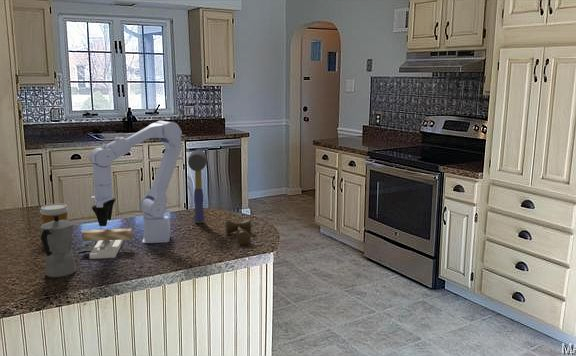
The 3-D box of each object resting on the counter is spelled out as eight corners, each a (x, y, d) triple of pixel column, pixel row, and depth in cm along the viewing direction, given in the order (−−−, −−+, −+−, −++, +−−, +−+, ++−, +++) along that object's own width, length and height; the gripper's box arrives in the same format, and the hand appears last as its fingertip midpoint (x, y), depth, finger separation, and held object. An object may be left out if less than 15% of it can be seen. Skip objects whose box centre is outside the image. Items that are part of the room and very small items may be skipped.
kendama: (230, 247, 174) (223, 229, 193) (257, 246, 176) (247, 228, 195) (230, 231, 173) (223, 214, 191) (257, 230, 175) (247, 214, 194)
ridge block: (123, 241, 176) (122, 231, 176) (115, 257, 161) (114, 246, 160) (100, 242, 175) (99, 232, 174) (89, 258, 160) (88, 247, 159)
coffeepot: (56, 263, 156) (51, 209, 152) (85, 263, 155) (81, 209, 152) (30, 283, 140) (24, 223, 137) (62, 283, 140) (57, 223, 137)
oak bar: (132, 236, 170) (131, 228, 169) (130, 239, 167) (130, 231, 167) (84, 238, 167) (83, 230, 167) (81, 241, 165) (81, 232, 164)
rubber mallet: (207, 226, 195) (206, 153, 190) (189, 227, 195) (186, 153, 189) (208, 218, 208) (207, 148, 202) (191, 218, 207) (189, 148, 201)
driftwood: (92, 253, 166) (92, 248, 165) (71, 254, 165) (71, 248, 164) (105, 235, 186) (105, 230, 185) (87, 236, 185) (86, 231, 184)
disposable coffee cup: (55, 232, 186) (52, 202, 184) (76, 235, 183) (73, 204, 181) (36, 240, 177) (33, 208, 175) (58, 243, 174) (55, 210, 172)
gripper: (95, 179, 170) (97, 217, 172) (85, 188, 156) (88, 229, 158) (116, 179, 171) (118, 216, 174) (108, 188, 157) (110, 228, 160)
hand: (105, 222), depth 166 cm, fingers open, 7 cm apart
